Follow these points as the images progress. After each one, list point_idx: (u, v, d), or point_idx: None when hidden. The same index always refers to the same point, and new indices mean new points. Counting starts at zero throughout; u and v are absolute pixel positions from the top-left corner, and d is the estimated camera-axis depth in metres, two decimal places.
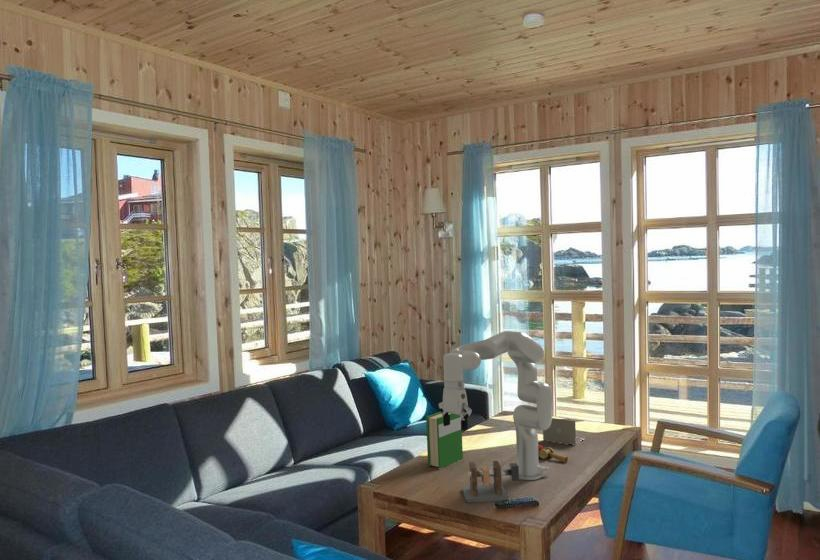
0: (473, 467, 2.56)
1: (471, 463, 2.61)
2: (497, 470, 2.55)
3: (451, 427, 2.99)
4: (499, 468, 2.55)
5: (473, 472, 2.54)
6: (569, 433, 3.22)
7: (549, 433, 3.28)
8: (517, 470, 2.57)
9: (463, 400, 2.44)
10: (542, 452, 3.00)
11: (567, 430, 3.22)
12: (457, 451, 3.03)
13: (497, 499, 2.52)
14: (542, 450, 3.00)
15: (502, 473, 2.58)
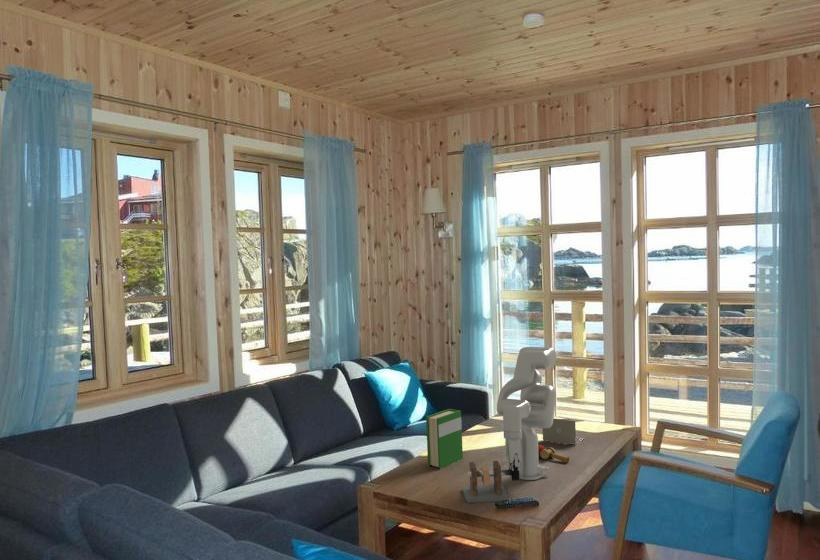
0: (473, 467, 2.56)
1: (471, 463, 2.61)
2: (497, 470, 2.55)
3: (451, 427, 2.99)
4: (499, 468, 2.55)
5: (473, 472, 2.54)
6: (569, 433, 3.22)
7: (549, 433, 3.28)
8: None
9: None
10: (544, 452, 3.00)
11: (567, 430, 3.22)
12: (457, 451, 3.03)
13: (497, 499, 2.52)
14: (543, 450, 3.00)
15: (502, 473, 2.58)
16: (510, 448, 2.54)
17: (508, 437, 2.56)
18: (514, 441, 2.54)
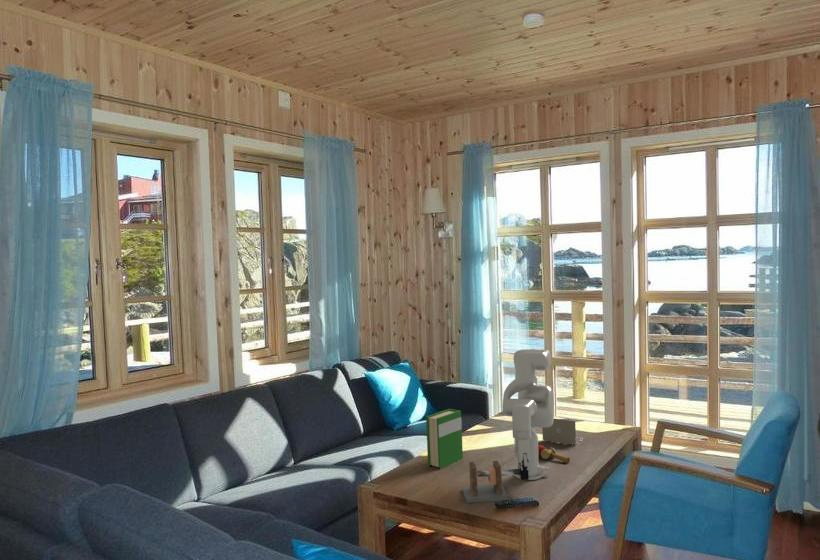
0: (473, 467, 2.56)
1: (471, 463, 2.61)
2: (497, 470, 2.55)
3: (451, 427, 2.99)
4: (499, 468, 2.55)
5: (473, 472, 2.54)
6: (569, 433, 3.22)
7: (549, 433, 3.28)
8: None
9: None
10: (544, 452, 3.00)
11: (567, 430, 3.22)
12: (457, 451, 3.03)
13: (497, 499, 2.52)
14: (544, 450, 3.00)
15: (511, 473, 2.58)
16: (519, 448, 2.54)
17: (517, 437, 2.56)
18: (523, 441, 2.54)
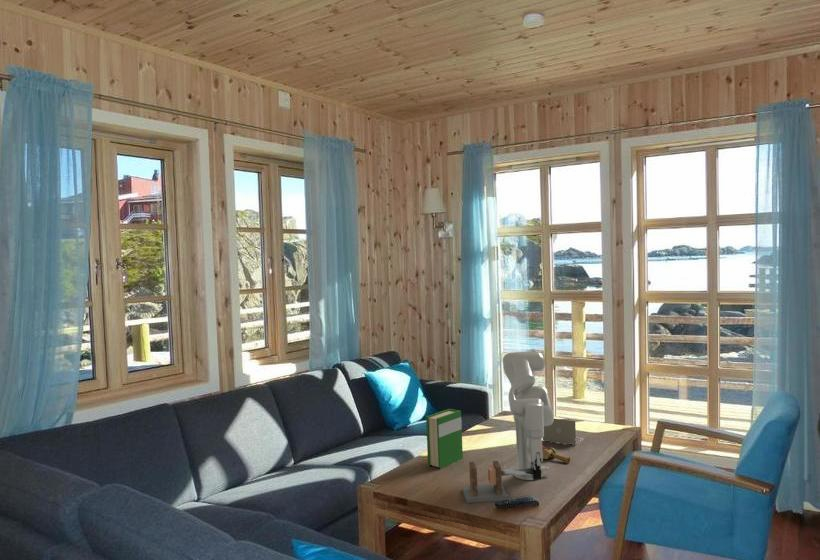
0: (473, 467, 2.56)
1: (471, 463, 2.61)
2: (497, 470, 2.55)
3: (451, 427, 2.99)
4: (499, 468, 2.55)
5: (473, 472, 2.54)
6: (569, 433, 3.22)
7: (549, 433, 3.28)
8: None
9: None
10: (545, 453, 3.00)
11: (567, 430, 3.22)
12: (457, 451, 3.03)
13: (497, 499, 2.52)
14: (544, 450, 2.99)
15: (524, 472, 2.58)
16: (532, 447, 2.54)
17: (530, 436, 2.56)
18: (536, 440, 2.54)
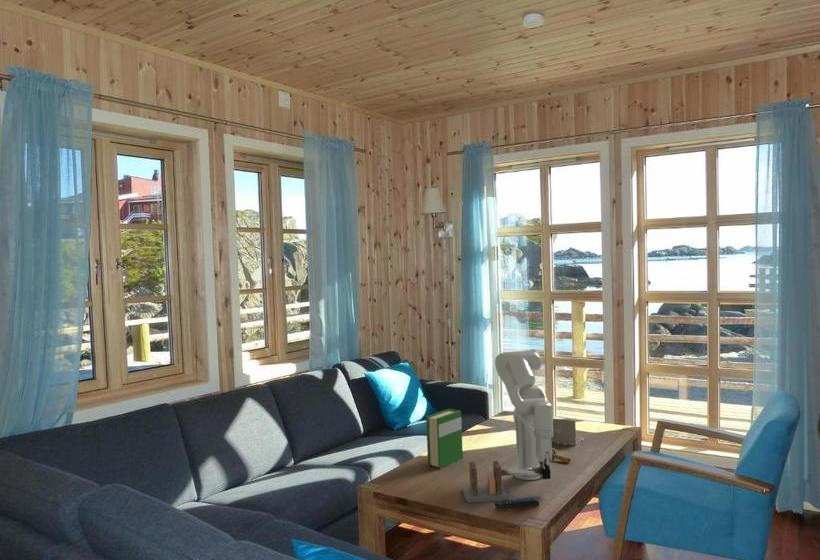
0: (473, 467, 2.56)
1: (471, 463, 2.61)
2: (497, 470, 2.55)
3: (451, 427, 2.99)
4: (499, 468, 2.55)
5: (473, 472, 2.54)
6: (569, 433, 3.22)
7: None
8: None
9: None
10: None
11: (567, 430, 3.22)
12: (457, 451, 3.03)
13: (497, 499, 2.52)
14: None
15: (533, 471, 2.58)
16: (541, 446, 2.54)
17: (539, 435, 2.56)
18: (545, 440, 2.54)
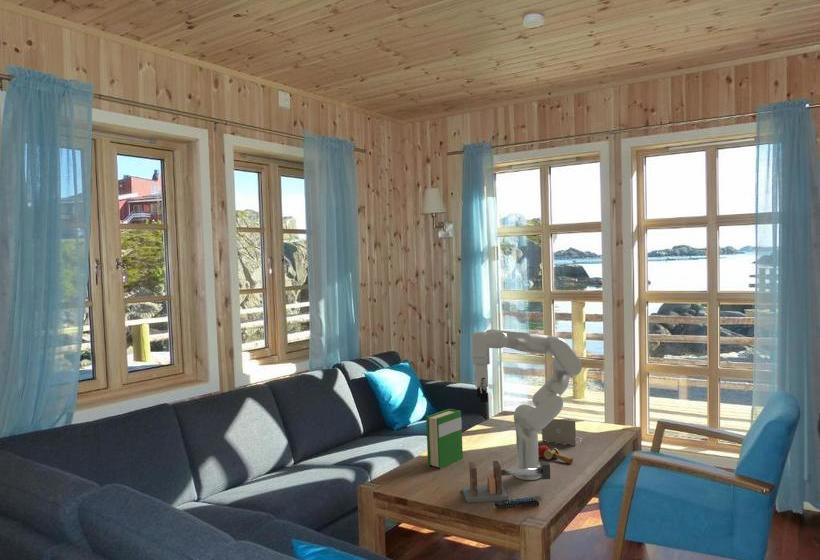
0: (473, 467, 2.56)
1: (471, 463, 2.61)
2: (497, 470, 2.55)
3: (451, 427, 2.99)
4: (499, 468, 2.55)
5: (473, 472, 2.54)
6: (569, 433, 3.21)
7: (548, 434, 3.27)
8: (548, 468, 2.57)
9: None
10: (547, 453, 2.99)
11: (567, 430, 3.22)
12: (457, 451, 3.03)
13: (497, 499, 2.52)
14: (547, 451, 2.99)
15: (533, 471, 2.58)
16: (478, 373, 2.68)
17: (476, 363, 2.69)
18: (481, 366, 2.68)
